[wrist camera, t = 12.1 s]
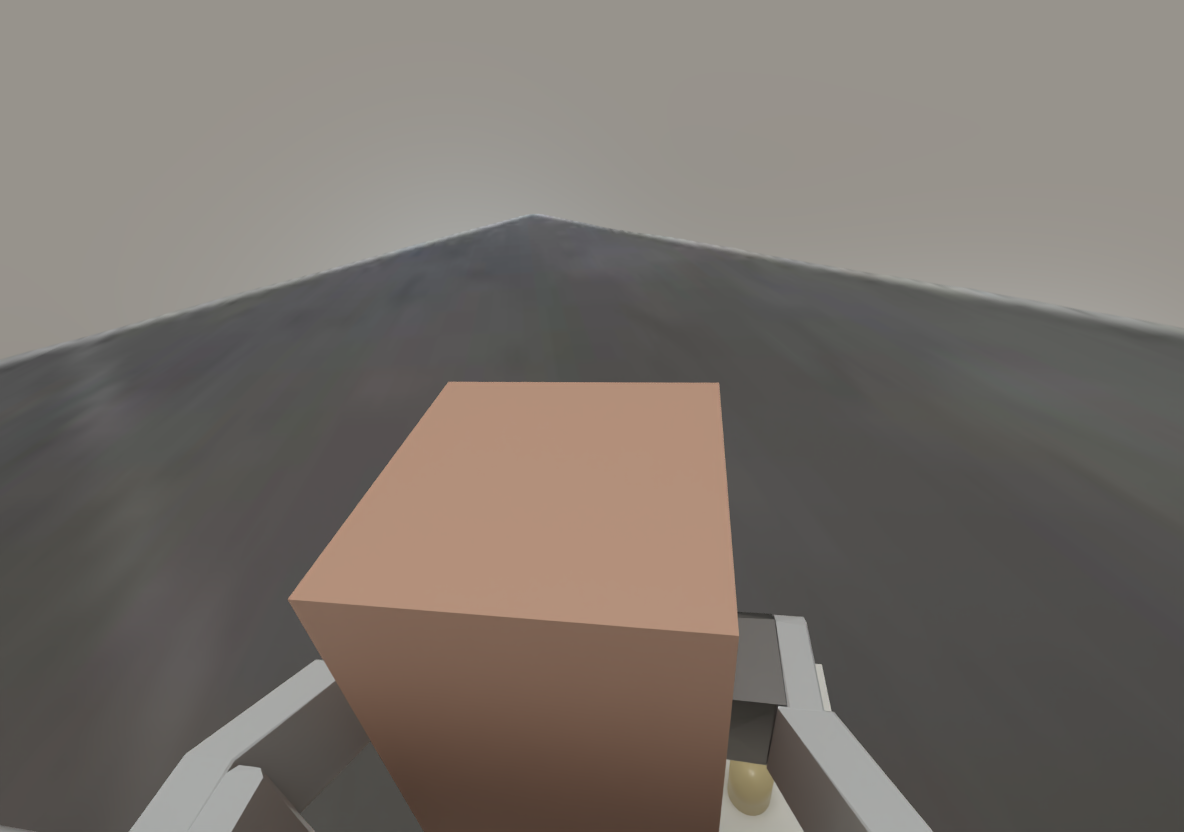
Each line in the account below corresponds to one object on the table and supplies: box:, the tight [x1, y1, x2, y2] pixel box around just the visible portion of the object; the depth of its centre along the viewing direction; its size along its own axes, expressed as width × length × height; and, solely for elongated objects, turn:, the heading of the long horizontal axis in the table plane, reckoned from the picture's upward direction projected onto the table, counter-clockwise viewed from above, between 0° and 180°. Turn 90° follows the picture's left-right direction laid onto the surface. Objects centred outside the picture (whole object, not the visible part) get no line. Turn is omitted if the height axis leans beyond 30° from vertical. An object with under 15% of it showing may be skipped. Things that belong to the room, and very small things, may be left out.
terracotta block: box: [288, 382, 739, 832], centre depth 11 cm, size 5×5×11 cm
